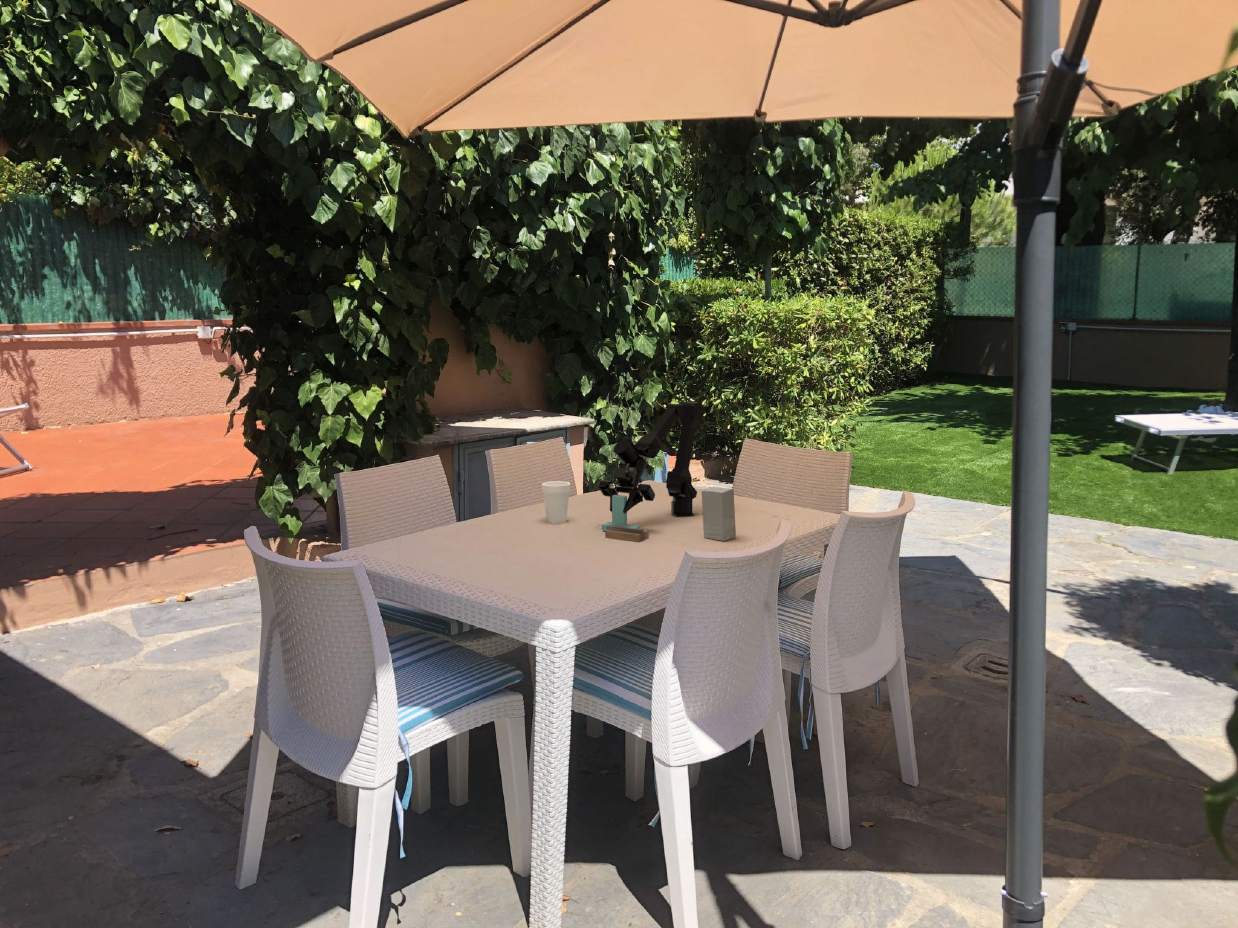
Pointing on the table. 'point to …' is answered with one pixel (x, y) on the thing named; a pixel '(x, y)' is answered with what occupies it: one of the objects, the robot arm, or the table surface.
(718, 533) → the skincare box
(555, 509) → the foam cup
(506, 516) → the table surface
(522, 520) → the table surface
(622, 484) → the robot arm
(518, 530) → the table surface
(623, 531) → the board
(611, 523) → the teal t-shaped block
